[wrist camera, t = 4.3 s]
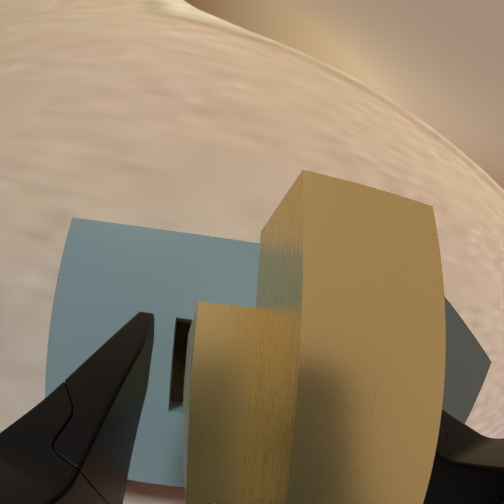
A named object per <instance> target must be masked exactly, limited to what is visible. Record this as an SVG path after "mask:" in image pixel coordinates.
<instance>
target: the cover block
mask: <svg viewBox="0 0 504 504" xmlns="http://www.w3.org/2000/svg"><path fill="white" fill-rule="evenodd" d="M259 254H260V244H259V243H252V242H245V241H238V240H232V239H225V238H218V237H210V236H203V235H196V234H189V233H182V232H175V231H168V230H160V229H153V228H146V227H138V226H131V225H124V224H116V223H109V222H101V221H94V220H86V219H78V218H72V221H71V225H70V228H69V232H68V236H67V240H66V244H65V248H64V252H63V256H62V260H61V265H60V270H59V274H58V279H57V285H56V290H55V296H54V302H53V308H52V315H51V323H50V331H49V340H48V351H47V365H46V388H45V398H46V397H47V396H48V395H49V394H50V393H52V392H53V391H54V390H55V389H56V388H57V387H58V386H59V385H60V384H61V383H62V382H64V383H65V380H66V379H67V378H68V377H69V376H70V375H71V374H72V373H73V372H74V371H75V370H76V369H77V368H78V367H79V366H80V365H81V364H83V363H84V362H85V361H86V360H87V359H88V358H89V357H90V356H91V355H92V354H93V353H94V352H95V351H97V350H98V349H99V348H100V347H101V346H102V345H103V344H104V343H105V342H106V341H107V340H109V339H110V338H111V337H112V336H113V335H114V334H115V333H116V332H117V331H118V330H119V329H121V328H122V327H123V326H124V325H125V324H126V323H127V322H128V321H129V320H131V319H132V318H133V317H134V316H135V315H136V314H137V313H138V312H148V313H153V314H154V344H153V350H152V358H151V365H150V373H149V381H148V387H147V392H146V396H145V400H144V405H143V409H142V413H141V417H140V421H139V425H138V430H137V434H136V439H135V443H134V448H133V452H132V457H131V462H130V467H129V472H128V477H127V480H133V481H138V482H145V483H151V484H158V485H166V486H176V487H184V467H183V402H174V401H171V390H172V375H173V362H174V351H175V340H176V330H177V322H182V323H190V324H191V323H192V320H193V317H194V313H195V310H196V307H197V304H198V301H201V302H209V303H218V304H226V305H236V306H245V307H255V308H256V299H257V284H258V269H259Z"/></svg>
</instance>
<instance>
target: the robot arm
mask: <svg viewBox="0 0 504 504" xmlns="http://www.w3.org/2000/svg"><path fill="white" fill-rule="evenodd" d="M153 344H154V314H153V313H148V312H138V313H137V314H136V315H135V316H134V317H133V318H132V319H131V320H129V321H128V322H127V323H126V324H125V325H124V326H123V327H122V328H121V329H119V330H118V331H117V332H116V333H115V334H114V335H113V336H112V337H111V338H110V339H109V340H107V341H106V342H105V343H104V344H103V345H102V346H101V347H100V348H99V349H98V350H97V351H95V352H94V353H93V354H92V355H91V356H90V357H89V358H88V359H87V360H86V361H85V362H84V363H83V364H81V365H80V366H79V367H78V368H77V369H76V370H75V371H74V372H73V373H72V374H71V375H70V376H69V377H68V378H67V379H66V380H65V383H64V382H62V383H61V384H60V385H59V386H58V387H57V388H56V389H55V390H54V391H53V392H52V393H50V394H49V395H48V396H47V397H46V398H45V399H44V400H43V401H42V402H40V403H39V404H38V405H37V406H35V407H34V408H33V409H32V410H30V411H29V412H28V413H27V414H25V415H24V416H23V417H21V418H20V419H19V420H17V421H16V422H15V423H13V424H12V425H10V426H9V427H8V428H6V429H5V430H4V431H2V432H1V433H0V504H123V499H124V493H125V488H126V482H127V477H128V472H129V467H130V462H131V457H132V452H133V448H134V443H135V439H136V434H137V430H138V425H139V421H140V417H141V413H142V409H143V405H144V400H145V396H146V392H147V387H148V381H149V373H150V365H151V358H152V350H153ZM423 504H504V439H494V438H489V437H485V436H483V435H481V434H479V433H477V432H476V431H474V430H473V429H471V428H470V427H468V426H467V425H465V424H464V423H462V422H461V421H459V420H457V419H456V418H454V417H453V416H451V415H450V414H449V413H447V412H446V411H444V410H443V409H442V413H441V421H440V428H439V435H438V441H437V447H436V452H435V457H434V462H433V467H432V471H431V476H430V480H429V484H428V488H427V491H426V495H425V499H424V502H423Z"/></svg>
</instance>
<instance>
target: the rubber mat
mask: <svg viewBox="0 0 504 504" xmlns="http://www.w3.org/2000/svg"><path fill="white" fill-rule="evenodd" d="M444 300H445V323H446V357H445V379H444V393H443V404H442V409H443V410H444V411H446V412H447V413H449V414H450V415H451V416H453V417H454V418H456V419H457V420H459V421H461V422H462V423H464V424H465V422H466V420H467V418H468V416H469V414H470V412H471V410H472V408H473V405H474V403H475V401H476V399H477V397H478V394H479V392H480V390H481V387H482V385H483V382H484V380H485V377H486V375H487V372H488V369H489V367H490V364H491V361H490V359H489V358H488V356H487V354H486V353H485V351H484V350H483V348H482V347H481V346H480V344H479V343H478V341H477V340H476V338H475V337H474V335H473V334H472V333H471V331H470V330H469V328H468V327H467V326H466V324H465V323H464V321H463V320H462V319H461V317H460V316H459V315H458V313H457V312H456V311H455V309H454V308H453V307H452V305H451V304H450V303H449V302H448V300H447V299H446V298H445V296H444Z"/></svg>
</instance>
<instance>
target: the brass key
mask: <svg viewBox="0 0 504 504" xmlns="http://www.w3.org/2000/svg"><path fill="white" fill-rule="evenodd" d="M445 357H446V323H445V300H444V286H443V274H442V265H441V256H440V249H439V242H438V235H437V229H436V223H435V217H434V212H433V207H432V206H429V205H426V204H423V203H420V202H417V201H414V200H411V199H408V198H405V197H402V196H399V195H395V194H392V193H389V192H385V191H382V190H379V189H375V188H372V187H368V186H365V185H361V184H357V183H354V182H350V181H346V180H342V179H338V178H335V177H331V176H327V175H322V174H318V173H314V172H310V171H306V170H302V172H301V173H300V175H299V176H298V178H297V179H296V181H295V182H294V184H293V185H292V187H291V188H290V189H289V191H288V192H287V194H286V195H285V197H284V198H283V200H282V201H281V203H280V204H279V206H278V207H277V209H276V210H275V212H274V213H273V215H272V216H271V217H270V219H269V220H268V222H267V223H266V225H265V226H264V228H263V229H262V231H261V238H260V254H259V269H258V284H257V299H256V308H255V307H245V306H236V305H226V304H218V303H209V302H201V301H198V304H197V307H196V310H195V313H194V317H193V320H192V323H191V326H190V329H189V332H188V337H187V348H186V360H185V373H184V386H183V467H184V493H185V504H423V502H424V499H425V495H426V491H427V488H428V484H429V480H430V476H431V471H432V467H433V462H434V457H435V452H436V447H437V441H438V435H439V428H440V421H441V413H442V404H443V393H444V379H445Z"/></svg>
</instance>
